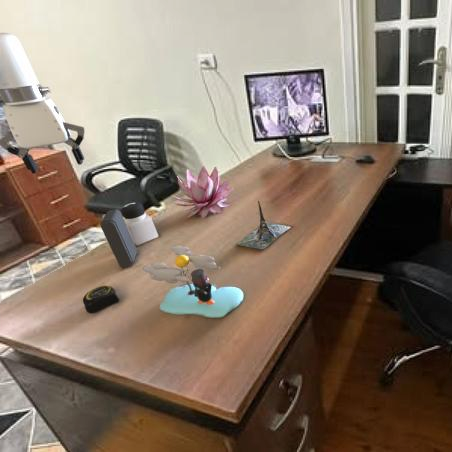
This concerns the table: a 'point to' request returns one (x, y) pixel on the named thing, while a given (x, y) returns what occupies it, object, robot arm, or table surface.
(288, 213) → the table surface
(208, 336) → the table surface
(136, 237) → the medicine bottle
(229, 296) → the penguin figurine
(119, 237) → the card reader
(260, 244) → the eiffel tower figurine
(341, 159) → the table surface
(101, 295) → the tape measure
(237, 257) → the table surface
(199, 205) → the decorative flower
